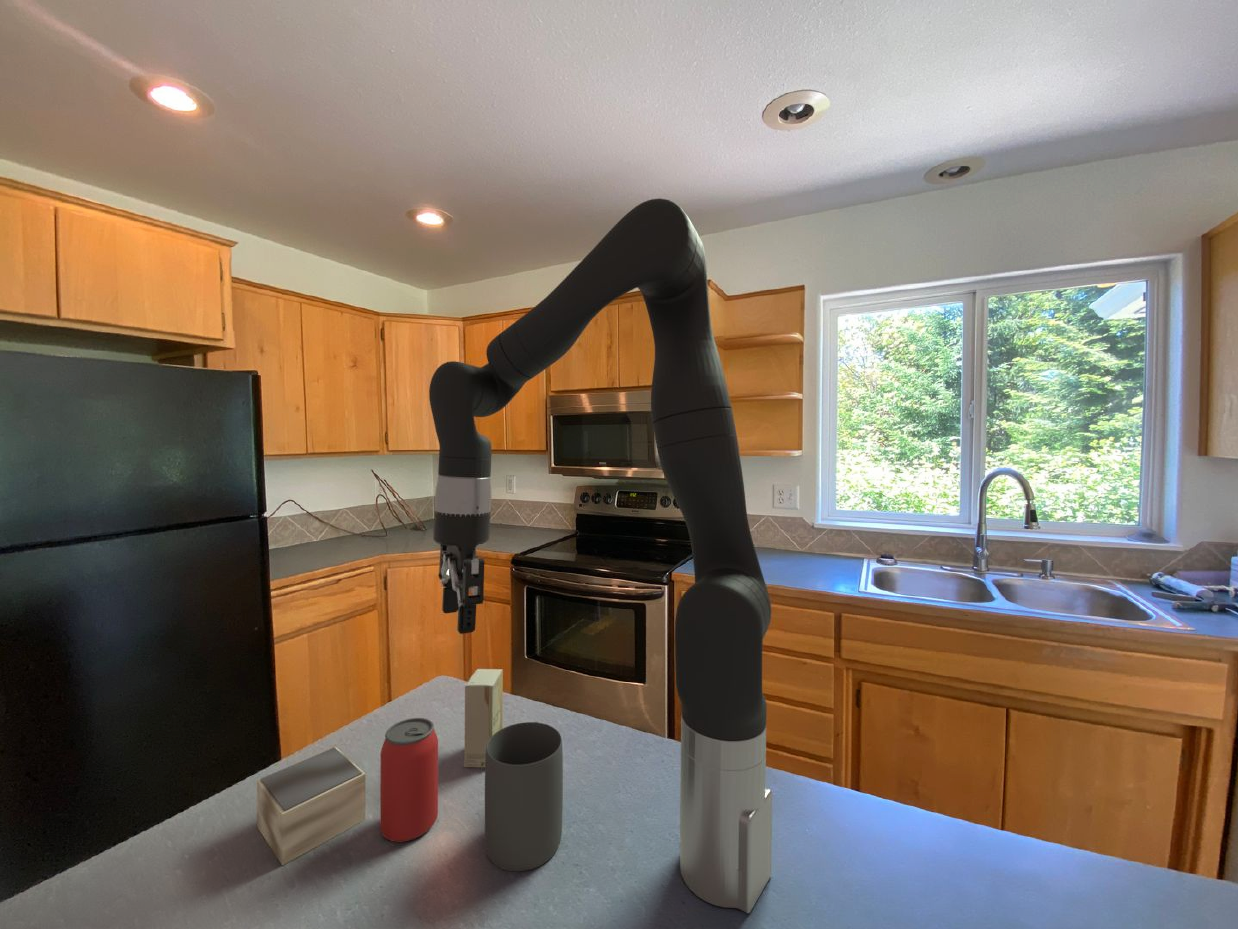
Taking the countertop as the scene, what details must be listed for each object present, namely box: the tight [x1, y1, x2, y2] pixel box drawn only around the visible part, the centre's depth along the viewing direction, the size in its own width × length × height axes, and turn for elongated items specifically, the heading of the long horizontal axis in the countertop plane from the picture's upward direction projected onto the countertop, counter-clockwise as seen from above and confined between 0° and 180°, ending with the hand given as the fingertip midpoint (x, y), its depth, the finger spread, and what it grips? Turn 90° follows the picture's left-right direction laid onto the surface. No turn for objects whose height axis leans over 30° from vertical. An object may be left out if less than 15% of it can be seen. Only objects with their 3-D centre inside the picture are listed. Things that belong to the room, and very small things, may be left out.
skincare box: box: [463, 668, 504, 768], centre depth 75 cm, size 6×4×12 cm
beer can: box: [379, 717, 439, 843], centre depth 61 cm, size 7×7×12 cm
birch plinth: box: [256, 746, 366, 866], centre depth 61 cm, size 9×9×6 cm
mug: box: [484, 721, 564, 872], centre depth 60 cm, size 14×9×12 cm
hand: (457, 621), depth 69 cm, fingers open, 8 cm apart
